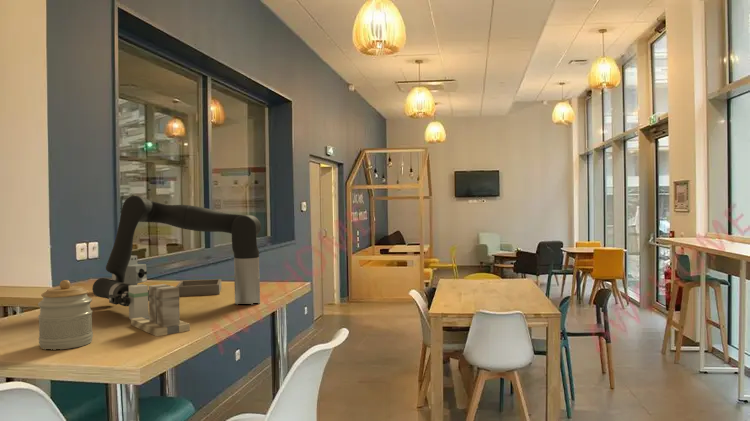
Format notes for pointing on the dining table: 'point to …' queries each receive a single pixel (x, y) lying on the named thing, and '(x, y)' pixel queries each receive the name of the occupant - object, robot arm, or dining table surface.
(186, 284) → the coaster tray
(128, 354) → the dining table surface
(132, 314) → the block
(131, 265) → the circuit breaker
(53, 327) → the jar
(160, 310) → the grey marble bookend
